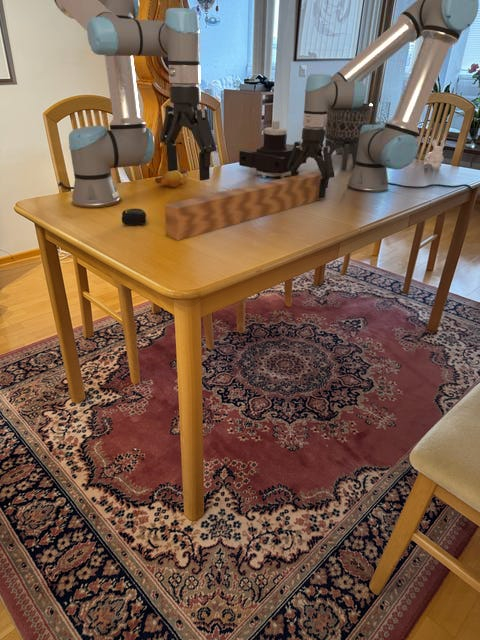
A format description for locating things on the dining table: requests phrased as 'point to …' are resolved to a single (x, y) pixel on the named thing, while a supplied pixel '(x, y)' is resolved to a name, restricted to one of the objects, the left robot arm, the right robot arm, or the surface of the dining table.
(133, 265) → the dining table surface
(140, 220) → the tape measure
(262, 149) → the mechanical component
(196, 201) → the beam
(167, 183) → the toy
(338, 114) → the planter
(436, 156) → the figurine
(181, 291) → the dining table surface
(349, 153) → the rock
